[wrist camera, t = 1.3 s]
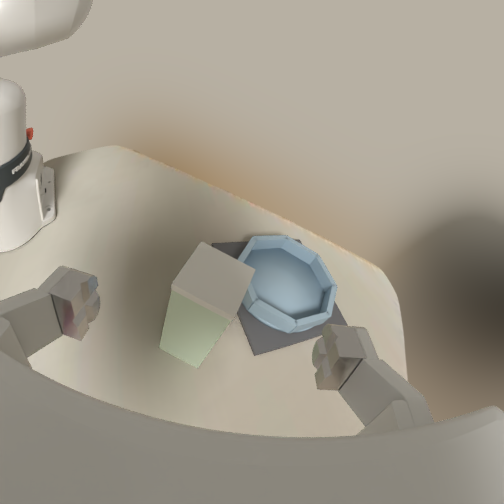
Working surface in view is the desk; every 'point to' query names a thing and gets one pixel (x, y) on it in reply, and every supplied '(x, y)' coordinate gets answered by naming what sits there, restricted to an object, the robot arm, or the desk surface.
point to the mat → (263, 335)
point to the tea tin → (203, 303)
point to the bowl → (287, 284)
